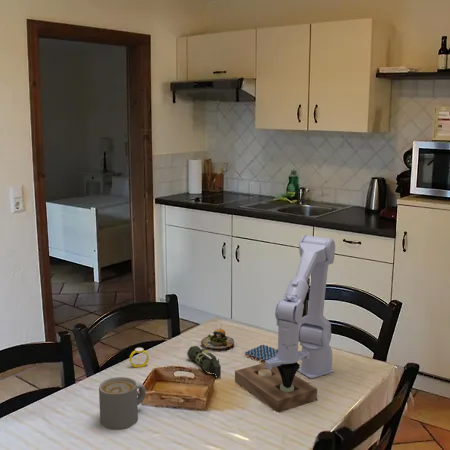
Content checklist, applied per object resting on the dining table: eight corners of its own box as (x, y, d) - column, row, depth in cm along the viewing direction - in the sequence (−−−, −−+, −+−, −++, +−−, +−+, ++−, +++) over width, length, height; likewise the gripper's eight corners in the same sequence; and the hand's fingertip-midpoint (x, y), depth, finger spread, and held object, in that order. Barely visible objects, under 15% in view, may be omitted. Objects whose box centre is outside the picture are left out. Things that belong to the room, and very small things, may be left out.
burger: (194, 345, 204) (194, 325, 203) (218, 337, 212) (218, 317, 211) (216, 355, 196) (216, 334, 194) (241, 346, 203) (241, 326, 202)
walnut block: (271, 371, 183) (271, 360, 182) (316, 399, 165) (317, 388, 164) (234, 381, 176) (234, 370, 175) (277, 412, 158) (277, 400, 157)
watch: (130, 369, 184) (130, 352, 183) (129, 365, 187) (128, 348, 185) (149, 367, 186) (148, 349, 185) (147, 363, 188) (147, 346, 187)
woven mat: (262, 348, 202) (262, 343, 202) (286, 357, 195) (286, 351, 195) (242, 357, 195) (242, 351, 195) (266, 366, 188) (266, 360, 187)
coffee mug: (109, 433, 147) (107, 397, 145) (94, 417, 155) (93, 382, 153) (155, 418, 154) (155, 384, 152) (139, 403, 162) (138, 370, 160)
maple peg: (266, 378, 177) (266, 367, 177) (273, 383, 174) (274, 372, 173) (255, 381, 175) (255, 370, 174) (263, 386, 172) (263, 375, 171)
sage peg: (288, 393, 168) (288, 381, 167) (296, 398, 165) (296, 387, 164) (277, 396, 166) (277, 385, 165) (285, 402, 163) (285, 390, 162)
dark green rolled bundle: (199, 356, 195) (225, 377, 179) (185, 359, 192) (211, 380, 177) (199, 339, 193) (225, 358, 178) (185, 342, 191) (211, 362, 176)
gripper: (299, 332, 169) (298, 375, 172) (259, 342, 162) (258, 386, 164) (315, 340, 163) (313, 384, 166) (273, 350, 156) (272, 397, 158)
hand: (287, 386), depth 165 cm, fingers closed, pressing on sage peg
